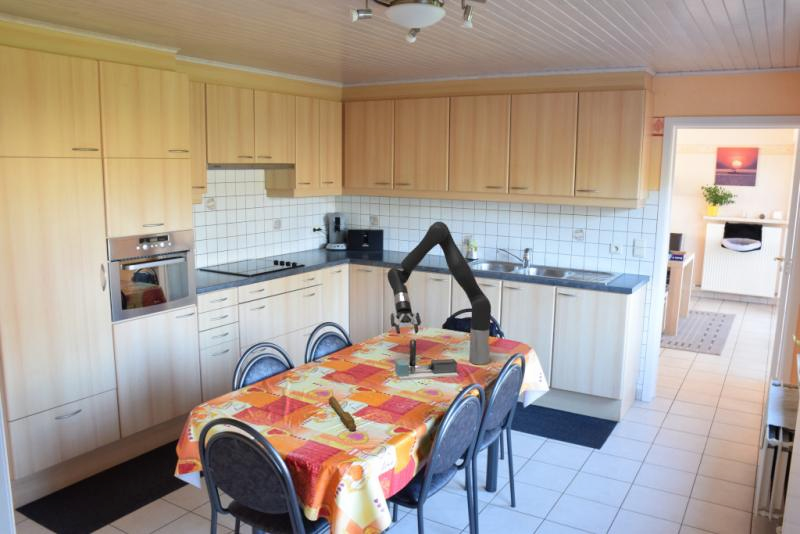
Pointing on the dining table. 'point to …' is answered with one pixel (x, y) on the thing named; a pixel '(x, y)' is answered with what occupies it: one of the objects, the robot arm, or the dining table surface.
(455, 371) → the outer sleeve
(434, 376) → the base board
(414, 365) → the slip tube
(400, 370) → the socket block
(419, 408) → the dining table surface
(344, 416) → the brown wooden stick
